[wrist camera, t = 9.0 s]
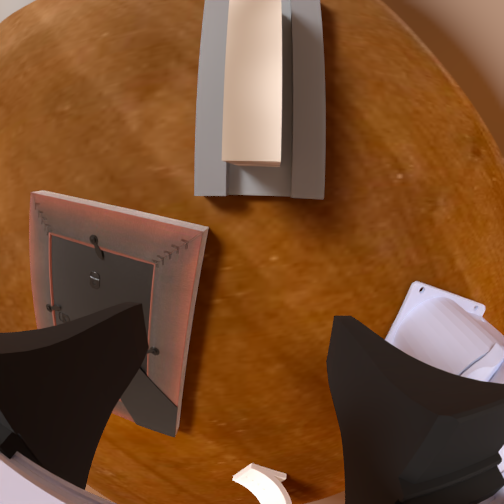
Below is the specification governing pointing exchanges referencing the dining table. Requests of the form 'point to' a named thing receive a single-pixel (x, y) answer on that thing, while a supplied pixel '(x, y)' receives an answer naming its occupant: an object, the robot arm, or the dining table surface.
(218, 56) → the grooved channel
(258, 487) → the headphone stand
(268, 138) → the frame
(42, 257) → the picture frame
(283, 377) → the dining table surface
